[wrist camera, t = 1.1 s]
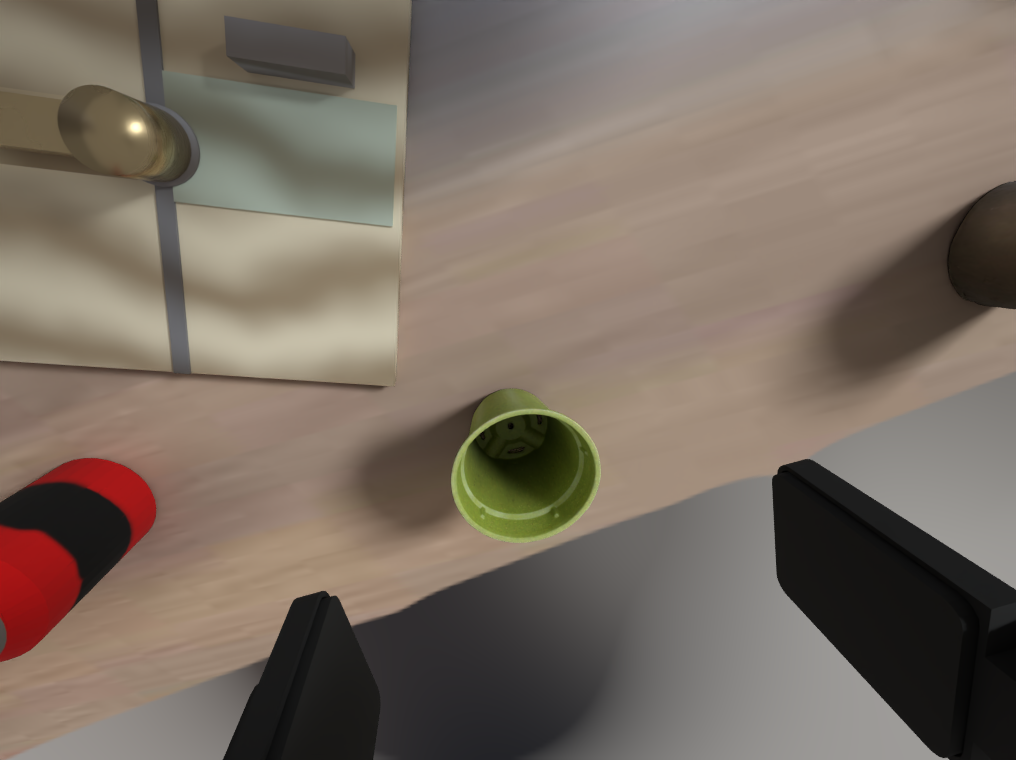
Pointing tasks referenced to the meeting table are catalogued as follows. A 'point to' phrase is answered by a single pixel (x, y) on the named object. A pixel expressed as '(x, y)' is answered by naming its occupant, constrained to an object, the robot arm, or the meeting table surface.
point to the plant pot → (523, 470)
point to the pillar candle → (987, 250)
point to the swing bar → (98, 132)
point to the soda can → (64, 543)
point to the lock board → (214, 190)
